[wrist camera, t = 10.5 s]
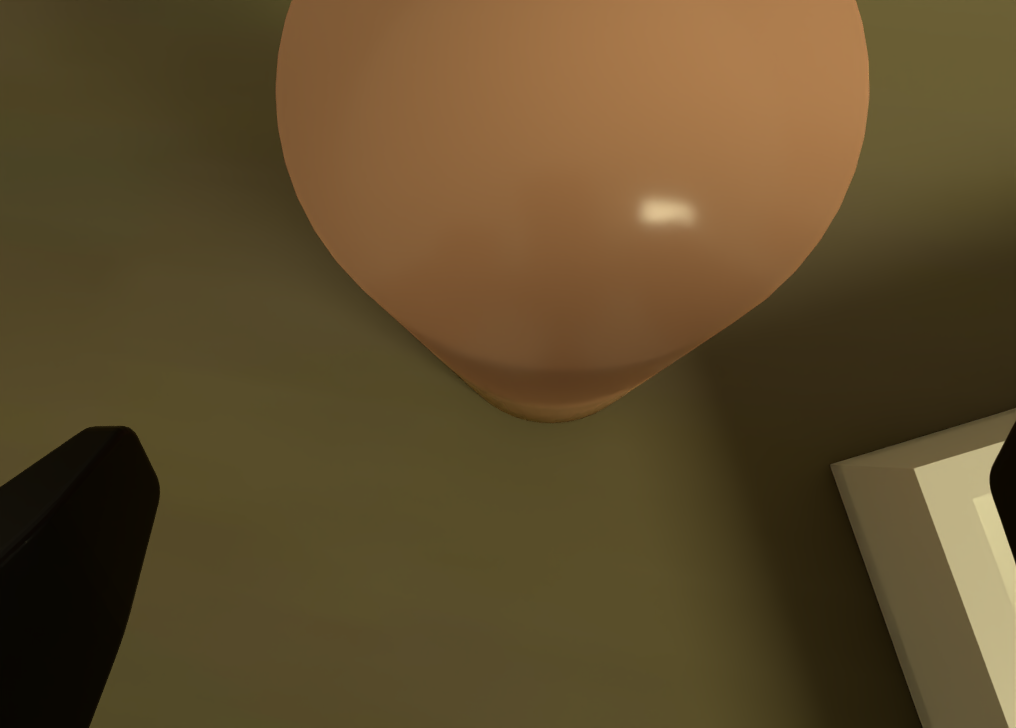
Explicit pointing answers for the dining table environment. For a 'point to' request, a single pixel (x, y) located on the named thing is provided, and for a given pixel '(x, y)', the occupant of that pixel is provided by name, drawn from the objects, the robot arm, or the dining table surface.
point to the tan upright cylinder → (570, 172)
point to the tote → (941, 568)
